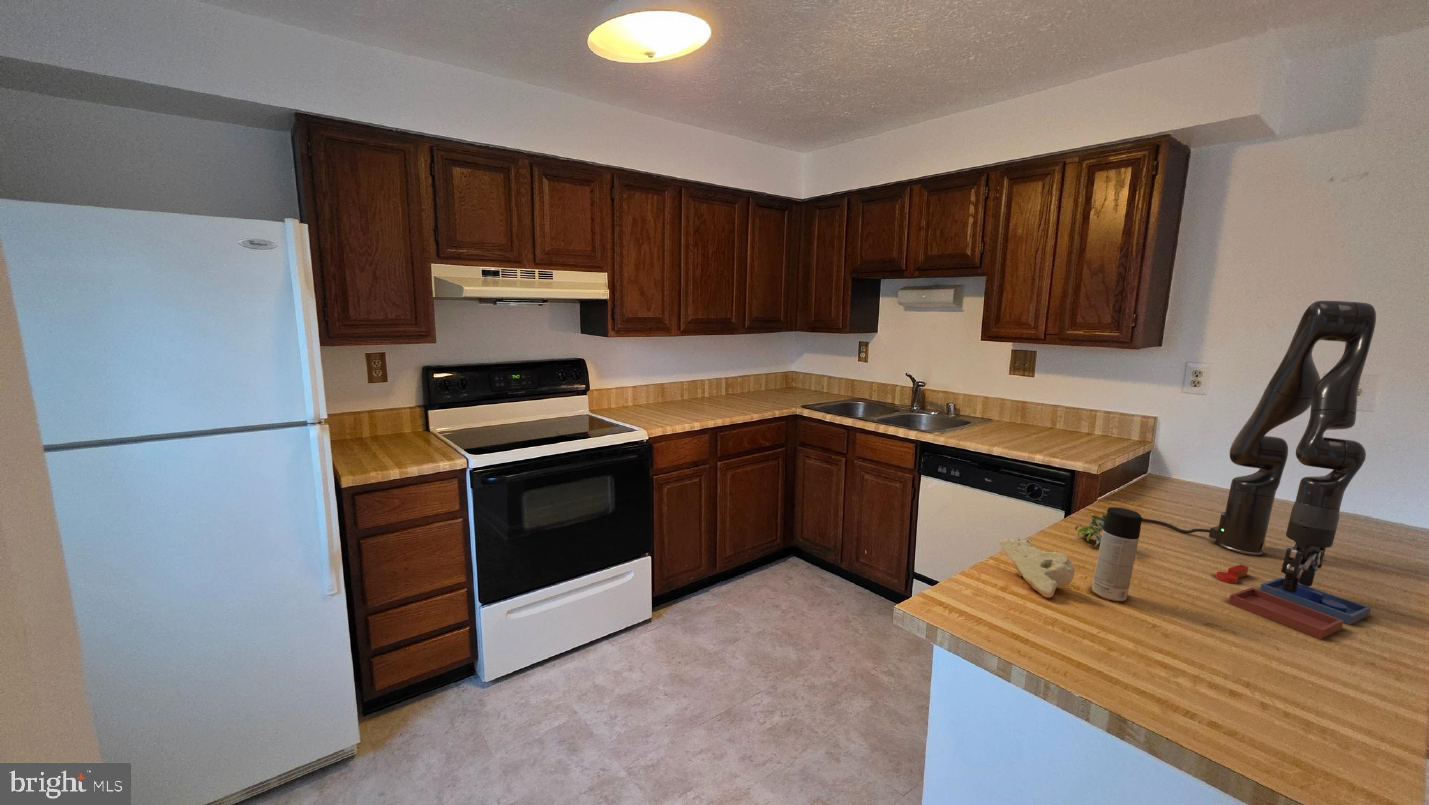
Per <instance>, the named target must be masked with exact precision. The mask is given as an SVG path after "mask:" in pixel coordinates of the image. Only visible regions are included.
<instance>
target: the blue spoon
mask: <svg viewBox="0 0 1429 805" xmlns="http://www.w3.org/2000/svg"><path fill="white" fill-rule="evenodd" d="M1282 591H1284V592H1287V593H1290V594H1293V595H1296V596H1299V597H1302V598H1304V599H1307V600H1310V601H1313V602H1316V603H1319V604H1321V605H1324V606H1327V607H1330V608H1333V609H1336V610H1338V611H1341V612H1344V613H1346V610H1347V606H1345V605H1343V604H1341V603H1339V602H1336V601H1332V600H1327V599H1323V597H1324V594H1323V593H1320V592H1317V591H1314V590H1311V589H1308V588H1305V587H1302V586H1299V585H1298V587H1297V591H1296V592H1294V593H1292V592H1289V591H1286V590H1284V589H1283V588H1282Z"/></svg>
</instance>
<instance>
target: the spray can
mask: <svg viewBox="0 0 1429 805" xmlns="http://www.w3.org/2000/svg"><path fill="white" fill-rule="evenodd" d="M1106 514H1107V516H1106V520H1105V523H1104V527H1103V530H1102V534H1101V536H1102V538H1101V543H1099V548H1098V554H1097V558H1096V564H1095V569H1094V575H1093V580H1092V586H1091V591H1092V592H1093V594H1094V595H1096V596H1098V597H1100V598H1103V599H1105V600H1109V601H1113V602H1124V601H1126V600H1127V598H1128V594H1129V589H1130V584H1131V579H1132V574H1133V569H1134V565H1135V560H1136V555H1137V550H1138V545H1139V542H1140V541H1139V540H1140V535H1141V528H1142V522H1143V521H1142V518H1143V517H1142V515H1141V514H1140V513H1139V512H1138V511H1135V510H1131V509H1129V508H1124V507H1118V506H1117V507H1116V506H1111V507H1108V508H1107V512H1106Z"/></svg>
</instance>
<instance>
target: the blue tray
mask: <svg viewBox="0 0 1429 805" xmlns="http://www.w3.org/2000/svg"><path fill="white" fill-rule="evenodd" d="M1284 579H1285V577H1277V578H1275V579H1272V580H1269V581H1266V582H1264V583H1261V584H1260V588H1259V590H1260V591H1263V592H1266V593H1268V594H1271V595H1274V596H1277V597H1279V598H1282V599H1285V600H1288V601H1290V602H1293V603H1296V604H1299V605H1302V606H1304V607H1307V608H1310V609H1313V610H1315V611H1318V612H1321V613H1324V614H1326V615H1329V616H1332V617H1335V618H1338V619H1340V620H1343V621H1344V622H1343V624H1348V625H1351V626H1352V625H1354V624H1355V623H1358V622H1359V621H1361V620H1363V619H1366V618H1368V617H1369V616H1370V613H1371V609H1372V608H1371V607H1370V606H1367V605H1364V604H1362V603H1358V602H1356V601H1352V600H1349V599H1346V598H1343V597H1340V596H1338V595H1335V594H1331V593H1328V592H1325V591H1322V590H1319V589H1317V588H1314V587H1312V586H1310V587H1308V586H1305V585H1302V584H1300V583H1298V585H1299V586H1302V587H1305V588H1308V589H1311V590H1314V591H1317V592H1320V593H1323V594H1324V597H1323V599H1327V600H1332V601H1336V602H1339V603H1341V604H1343V605H1345V606H1347V610H1346V613H1344V612H1341V611H1338V610H1336V609H1333V608H1330V607H1327V606H1324V605H1321V604H1319V603H1316V602H1313V601H1310V600H1307V599H1304V598H1302V597H1299V596H1296V595H1293V594H1290V593H1287V592H1284V591H1282V587H1283V583H1284Z"/></svg>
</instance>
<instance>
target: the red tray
mask: <svg viewBox="0 0 1429 805" xmlns="http://www.w3.org/2000/svg"><path fill="white" fill-rule="evenodd" d="M1228 604H1231V605H1233V606H1236V607H1238V608H1241V609H1243V610H1246V611H1248V612H1251V613H1253V614H1256V615H1259V616H1261V617H1263V618H1266V619H1268V620H1271V621H1273V622H1276V623H1279V624H1281V625H1284V626H1286V627H1289V628H1292V629H1294V630H1297V631H1299V632H1302V633H1304V634H1307V635H1310V636H1312V637H1314V638H1317V639H1319V640H1323V639H1324V638H1327V637H1328V636H1330V635H1333V634H1335V633H1337V632H1339V631H1341V630H1342V629H1343V624H1344V621H1343V620H1340V619H1338V618H1335V617H1332V616H1329V615H1326V614H1324V613H1321V612H1318V611H1315V610H1313V609H1310V608H1307V607H1304V606H1302V605H1299V604H1296V603H1293V602H1290V601H1288V600H1285V599H1282V598H1279V597H1277V596H1274V595H1271V594H1268V593H1266V592H1263V591H1260V589H1257V588H1254V587H1249V588H1246V589H1243V590H1240V591H1238V592H1234V593H1231V594H1230V595H1229V599H1228Z"/></svg>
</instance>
